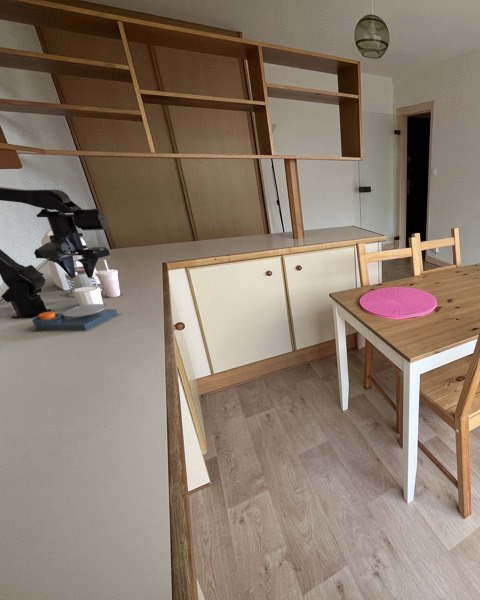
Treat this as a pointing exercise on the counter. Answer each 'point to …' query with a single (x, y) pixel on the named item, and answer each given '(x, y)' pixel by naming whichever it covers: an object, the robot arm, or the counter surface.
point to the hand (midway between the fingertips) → (81, 277)
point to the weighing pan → (84, 310)
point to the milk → (57, 270)
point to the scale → (74, 321)
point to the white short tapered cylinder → (88, 295)
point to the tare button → (46, 315)
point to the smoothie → (109, 281)
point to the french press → (79, 277)
